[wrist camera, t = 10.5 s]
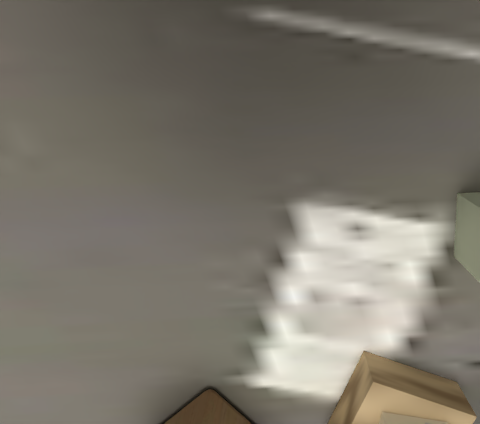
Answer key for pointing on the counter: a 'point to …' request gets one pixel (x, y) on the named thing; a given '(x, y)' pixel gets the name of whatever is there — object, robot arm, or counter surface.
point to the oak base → (399, 394)
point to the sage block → (468, 232)
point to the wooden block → (208, 411)
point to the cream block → (405, 419)
